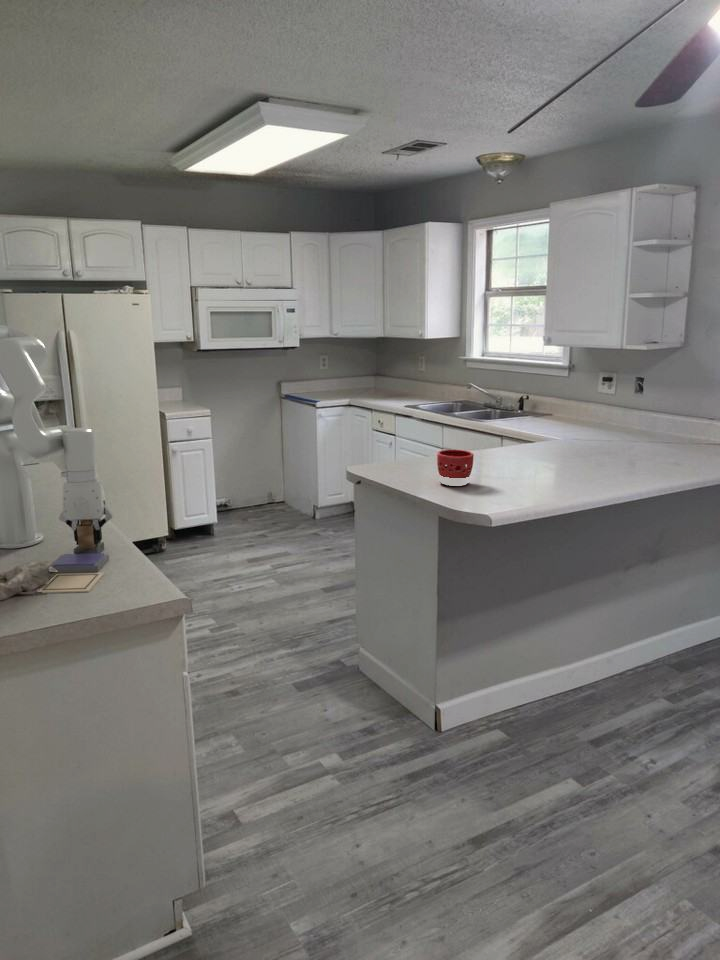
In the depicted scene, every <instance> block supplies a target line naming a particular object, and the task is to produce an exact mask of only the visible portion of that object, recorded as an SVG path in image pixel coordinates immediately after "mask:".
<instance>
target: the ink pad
mask: <svg viewBox="0 0 720 960" xmlns="http://www.w3.org/2000/svg"><path fill="white" fill-rule="evenodd" d="M109 555H110V554H109V553H103V552H101V553H96V554H74V553H65V554H61V555H60V556H59V557H58V558H57V559H55V560H54V561H53V562H52V563H51V564H50V565H49V566H50V567H53V568H55V569H56V570H57V571H58V573H57V574H69V573H100V571H101V569H103V567H104V566H105V565H106V564H107V563H108V562H109V560H110V556H109Z"/></svg>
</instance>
